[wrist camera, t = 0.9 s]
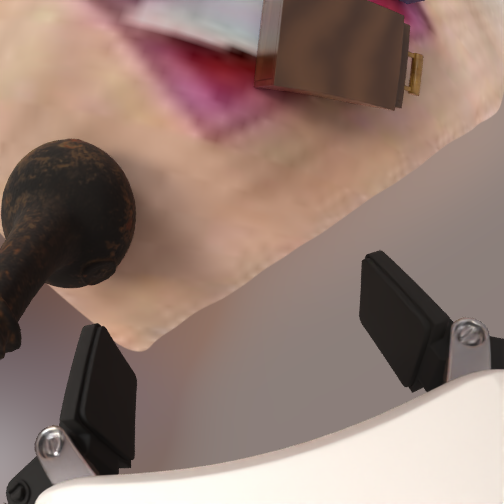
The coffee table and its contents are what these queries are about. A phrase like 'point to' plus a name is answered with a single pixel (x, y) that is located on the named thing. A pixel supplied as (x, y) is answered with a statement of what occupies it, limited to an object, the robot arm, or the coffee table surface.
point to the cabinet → (331, 50)
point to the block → (410, 1)
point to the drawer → (414, 73)
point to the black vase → (60, 226)
